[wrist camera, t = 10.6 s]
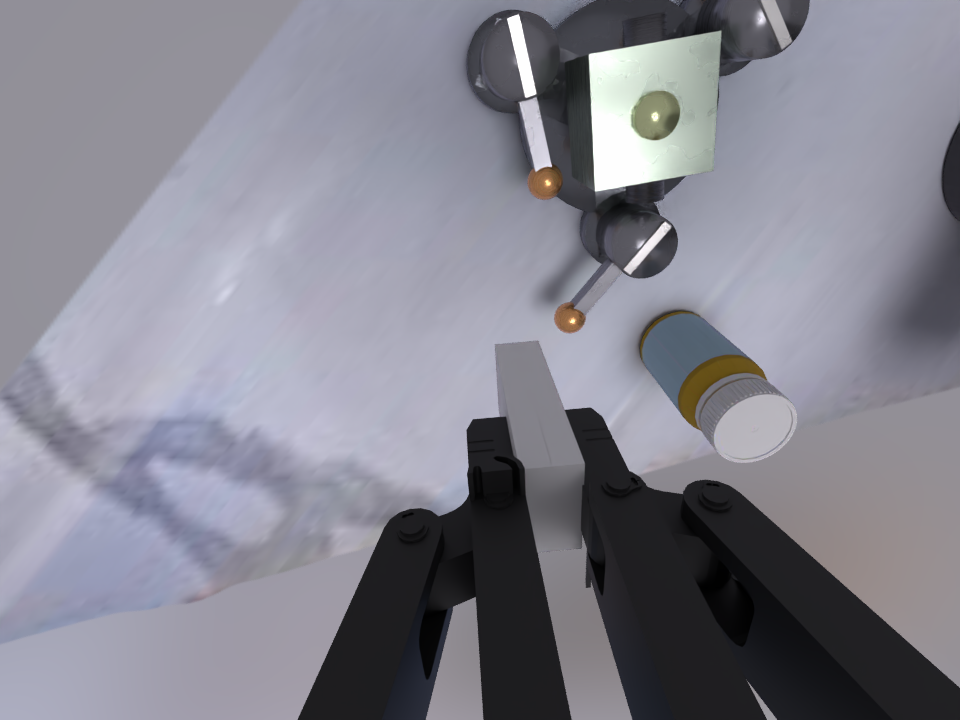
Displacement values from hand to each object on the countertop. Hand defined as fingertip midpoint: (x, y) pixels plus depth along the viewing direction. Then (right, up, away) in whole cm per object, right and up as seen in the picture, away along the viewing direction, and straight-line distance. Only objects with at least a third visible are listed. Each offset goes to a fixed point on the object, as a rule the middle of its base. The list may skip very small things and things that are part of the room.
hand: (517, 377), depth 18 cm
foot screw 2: (+9, +9, +26) cm, 28 cm away
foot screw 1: (+2, +19, +20) cm, 28 cm away
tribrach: (+10, +18, +23) cm, 31 cm away
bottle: (+18, +3, +32) cm, 37 cm away
